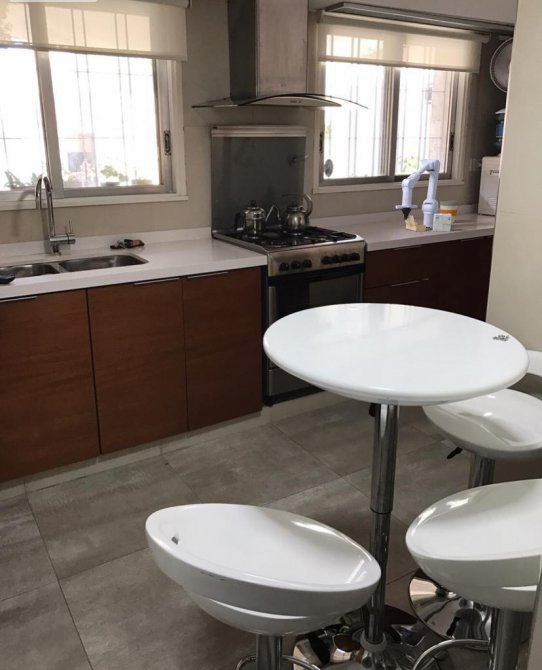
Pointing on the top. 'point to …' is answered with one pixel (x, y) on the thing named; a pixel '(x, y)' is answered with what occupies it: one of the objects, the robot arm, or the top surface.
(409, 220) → the lid
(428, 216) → the robot arm
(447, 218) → the light bulb box
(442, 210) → the reusable coffee cup
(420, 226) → the carton
